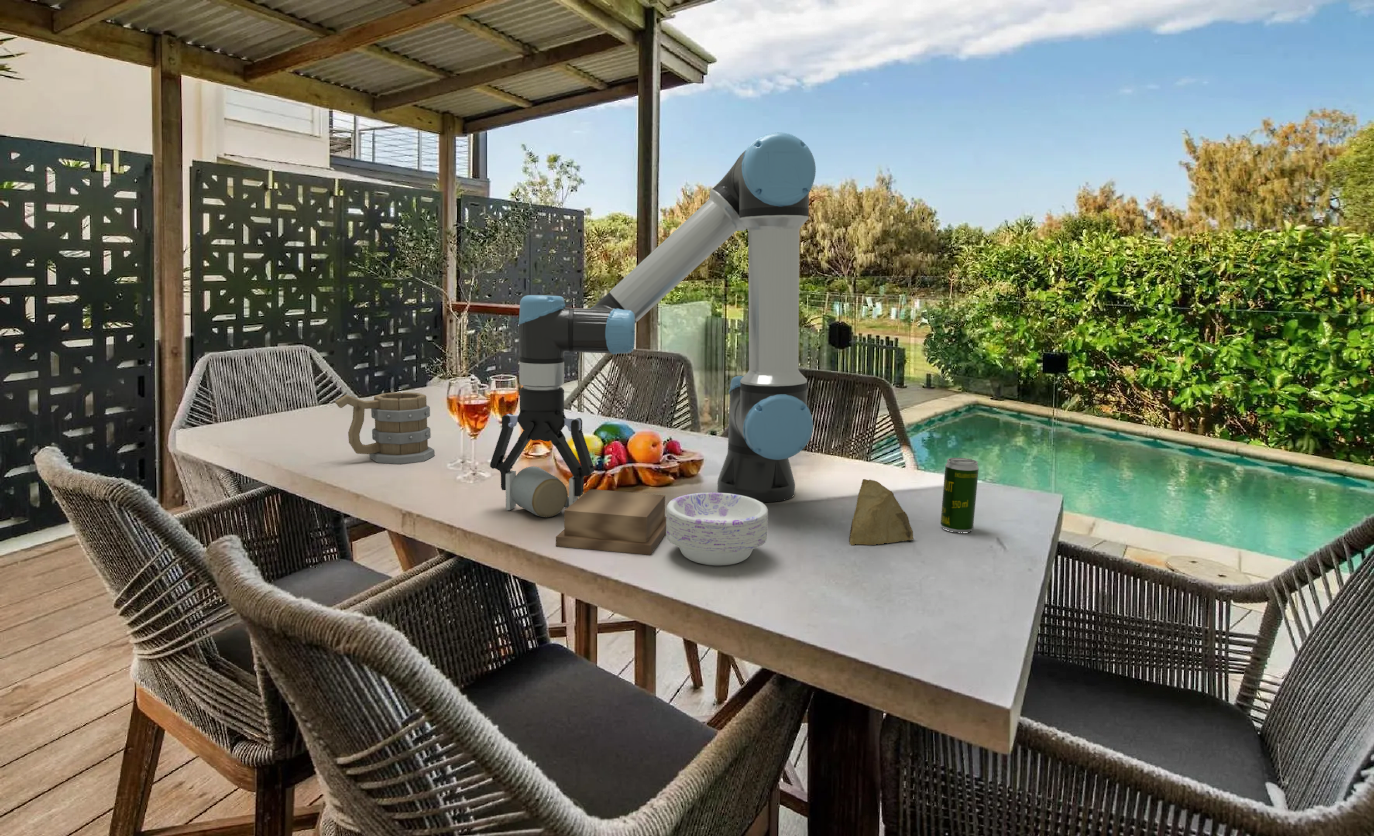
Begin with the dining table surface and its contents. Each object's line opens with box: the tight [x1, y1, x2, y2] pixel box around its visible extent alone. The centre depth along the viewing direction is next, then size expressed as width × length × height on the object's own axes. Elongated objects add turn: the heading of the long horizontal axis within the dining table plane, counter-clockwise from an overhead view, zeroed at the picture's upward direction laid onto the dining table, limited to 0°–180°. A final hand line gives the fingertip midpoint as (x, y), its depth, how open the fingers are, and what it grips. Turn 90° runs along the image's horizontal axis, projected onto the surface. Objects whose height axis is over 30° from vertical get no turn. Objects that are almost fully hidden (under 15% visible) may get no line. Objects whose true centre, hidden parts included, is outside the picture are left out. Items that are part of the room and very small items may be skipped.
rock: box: [848, 478, 915, 546], centre depth 130 cm, size 11×9×10 cm
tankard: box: [335, 391, 436, 465], centre depth 176 cm, size 20×13×15 cm, turn 128°
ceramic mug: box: [511, 465, 569, 518], centre depth 141 cm, size 11×8×8 cm
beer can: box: [940, 457, 980, 534], centre depth 137 cm, size 5×5×12 cm
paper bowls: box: [665, 492, 769, 567], centre depth 121 cm, size 15×15×8 cm
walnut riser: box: [555, 488, 667, 556], centre depth 129 cm, size 15×15×6 cm
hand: (542, 510), depth 141 cm, fingers open, 11 cm apart
